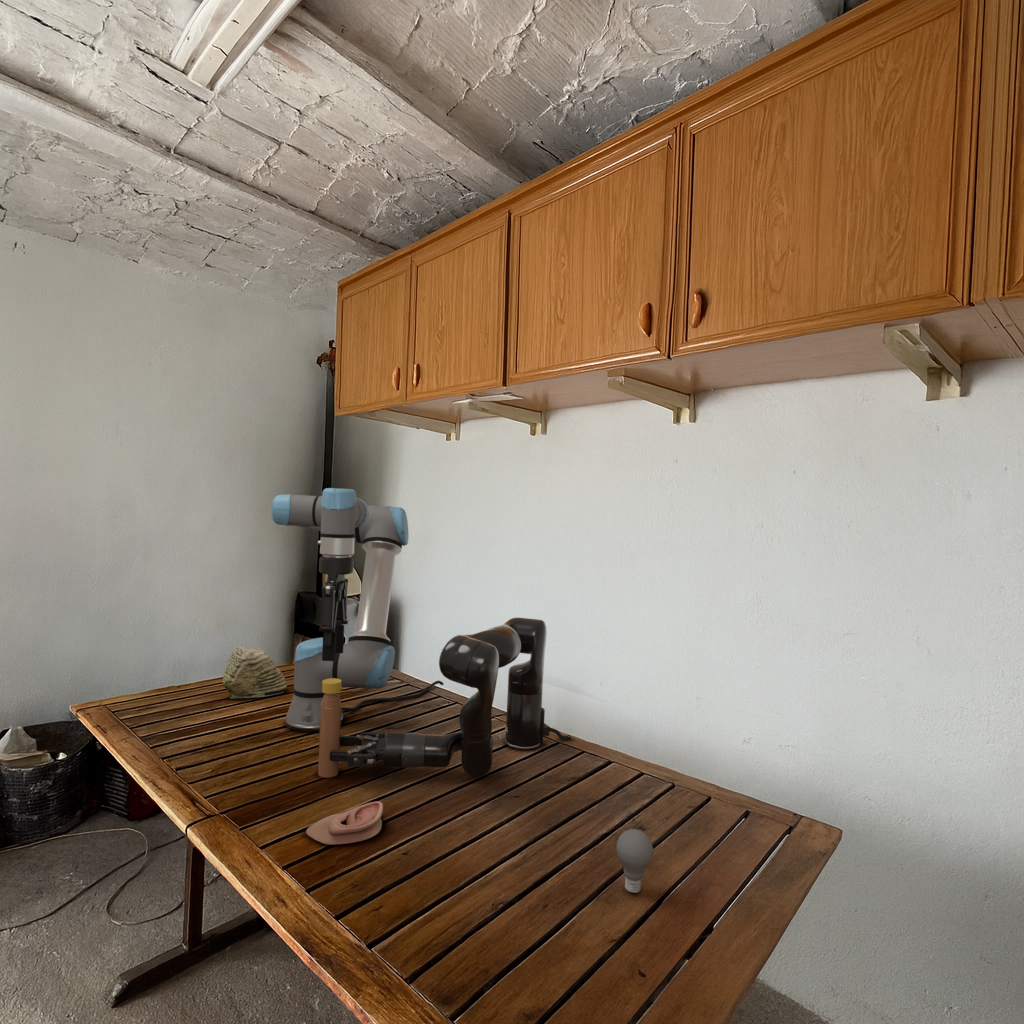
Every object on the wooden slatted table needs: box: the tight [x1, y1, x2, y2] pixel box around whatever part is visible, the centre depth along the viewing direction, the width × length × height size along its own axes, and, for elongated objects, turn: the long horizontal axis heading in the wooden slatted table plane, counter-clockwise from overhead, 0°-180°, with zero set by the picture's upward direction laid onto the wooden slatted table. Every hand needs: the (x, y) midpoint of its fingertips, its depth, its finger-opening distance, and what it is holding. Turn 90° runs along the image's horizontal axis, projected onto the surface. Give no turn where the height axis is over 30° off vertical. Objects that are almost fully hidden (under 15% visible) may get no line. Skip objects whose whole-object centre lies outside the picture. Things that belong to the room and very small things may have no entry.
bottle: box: [317, 693, 342, 779], centre depth 145 cm, size 5×5×21 cm
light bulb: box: [615, 828, 654, 894], centre depth 106 cm, size 6×6×10 cm
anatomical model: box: [305, 800, 384, 846], centre depth 121 cm, size 13×4×12 cm
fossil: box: [222, 646, 288, 699], centre depth 198 cm, size 9×18×15 cm, turn 132°
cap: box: [322, 678, 342, 694], centre depth 145 cm, size 4×4×2 cm
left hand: (332, 656), depth 145 cm, fingers open, 6 cm apart
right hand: (334, 748), depth 145 cm, fingers open, 8 cm apart
